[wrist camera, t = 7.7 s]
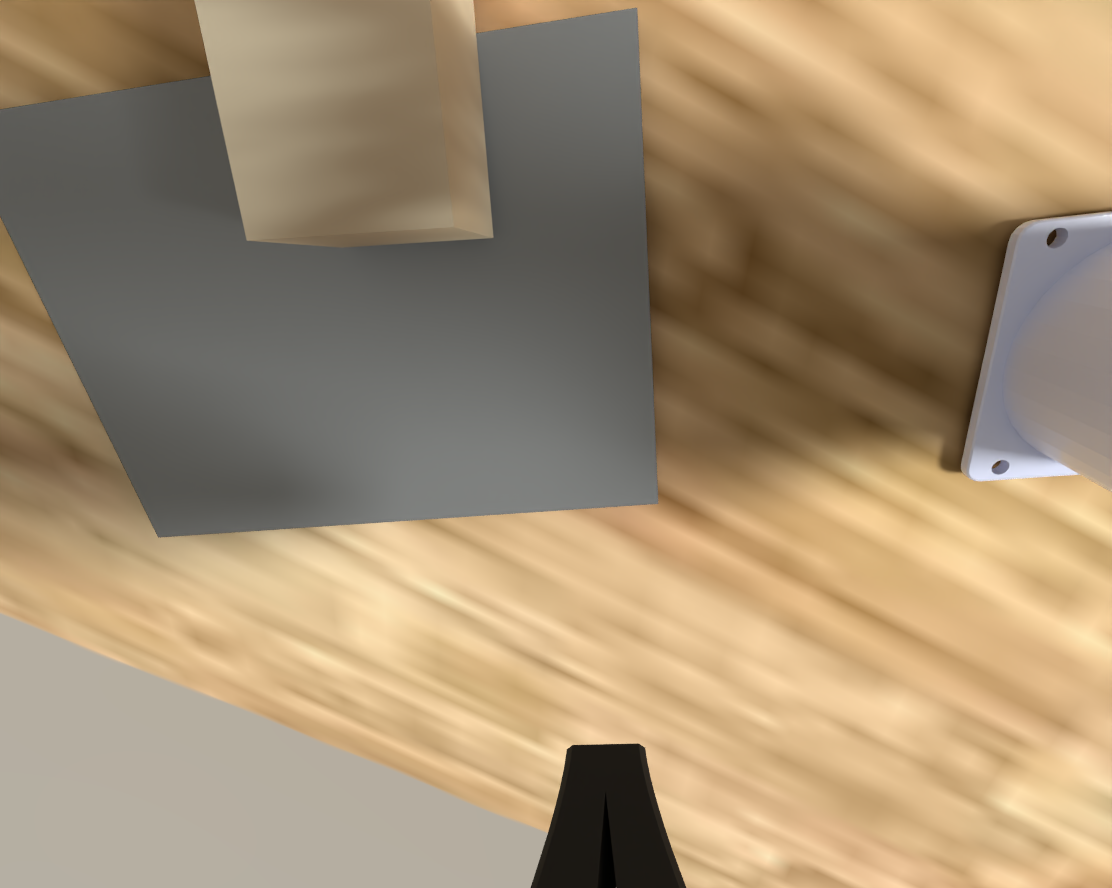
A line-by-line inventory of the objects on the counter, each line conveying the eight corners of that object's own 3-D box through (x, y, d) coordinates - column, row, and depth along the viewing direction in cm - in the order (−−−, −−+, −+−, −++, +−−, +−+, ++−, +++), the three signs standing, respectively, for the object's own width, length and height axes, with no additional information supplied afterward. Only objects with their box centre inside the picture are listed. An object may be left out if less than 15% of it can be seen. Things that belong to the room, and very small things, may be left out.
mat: (635, 15, 14) (637, 7, 13) (656, 495, 19) (658, 503, 19) (-27, 120, 16) (-49, 117, 15) (169, 528, 21) (158, 537, 21)
